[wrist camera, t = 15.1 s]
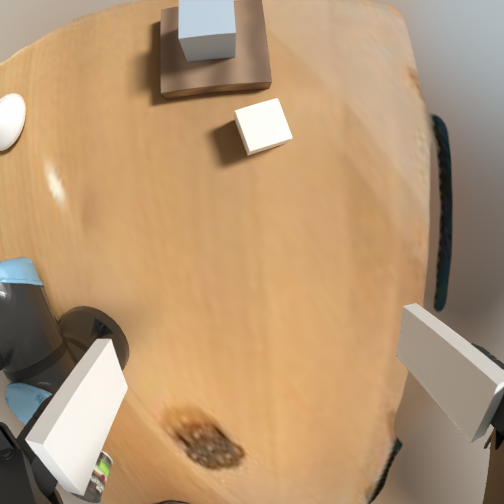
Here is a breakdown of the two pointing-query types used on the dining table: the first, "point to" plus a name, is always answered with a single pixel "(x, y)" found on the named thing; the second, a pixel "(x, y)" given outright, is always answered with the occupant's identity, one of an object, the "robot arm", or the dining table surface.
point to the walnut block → (222, 69)
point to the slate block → (207, 29)
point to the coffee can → (97, 479)
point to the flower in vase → (11, 119)
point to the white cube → (262, 126)
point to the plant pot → (173, 502)
